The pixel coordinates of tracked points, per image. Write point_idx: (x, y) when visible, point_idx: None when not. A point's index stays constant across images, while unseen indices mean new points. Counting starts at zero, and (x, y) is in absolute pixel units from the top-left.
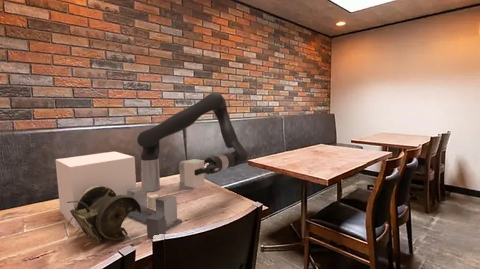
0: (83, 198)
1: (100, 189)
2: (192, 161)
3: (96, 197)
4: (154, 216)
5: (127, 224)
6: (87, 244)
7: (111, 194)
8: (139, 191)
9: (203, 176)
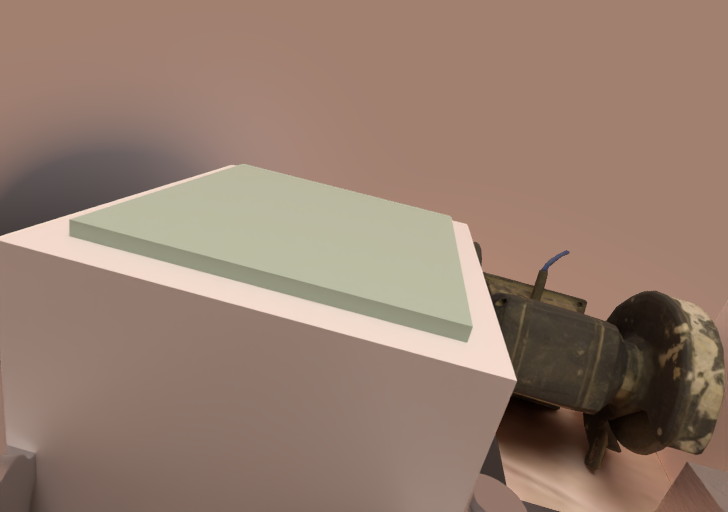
0: (626, 302)
1: (664, 315)
2: (308, 192)
3: (643, 336)
4: None
5: (538, 505)
6: None
7: (669, 377)
8: (710, 506)
9: None
